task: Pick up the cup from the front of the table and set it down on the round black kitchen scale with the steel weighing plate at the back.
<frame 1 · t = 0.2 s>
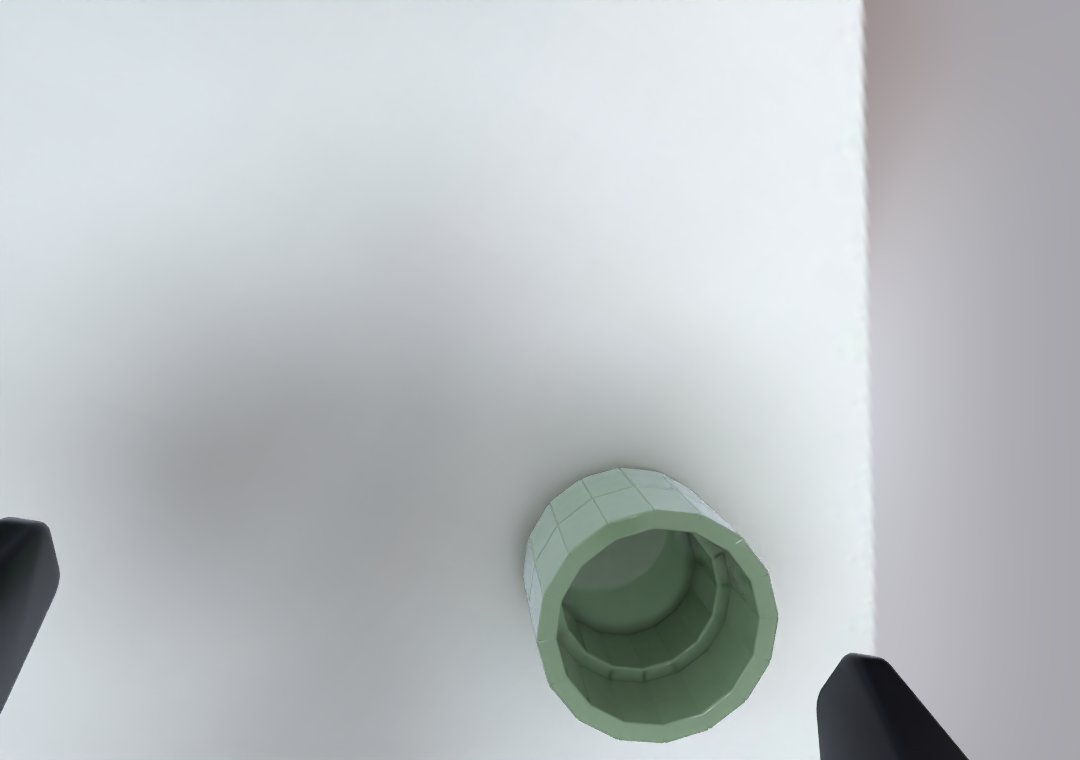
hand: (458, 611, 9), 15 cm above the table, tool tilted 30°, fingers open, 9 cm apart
cup: (620, 558, 25), on the table
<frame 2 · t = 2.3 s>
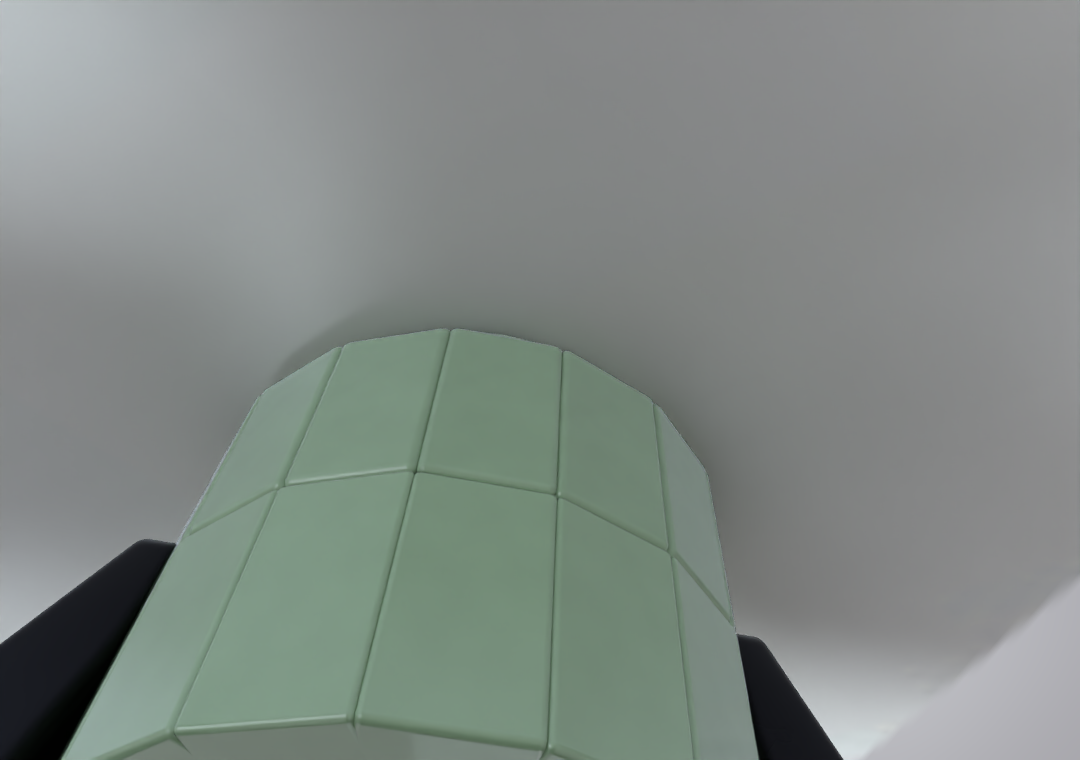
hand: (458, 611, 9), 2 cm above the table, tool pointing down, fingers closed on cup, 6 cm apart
cup: (473, 497, 11), on the table, touching gripper
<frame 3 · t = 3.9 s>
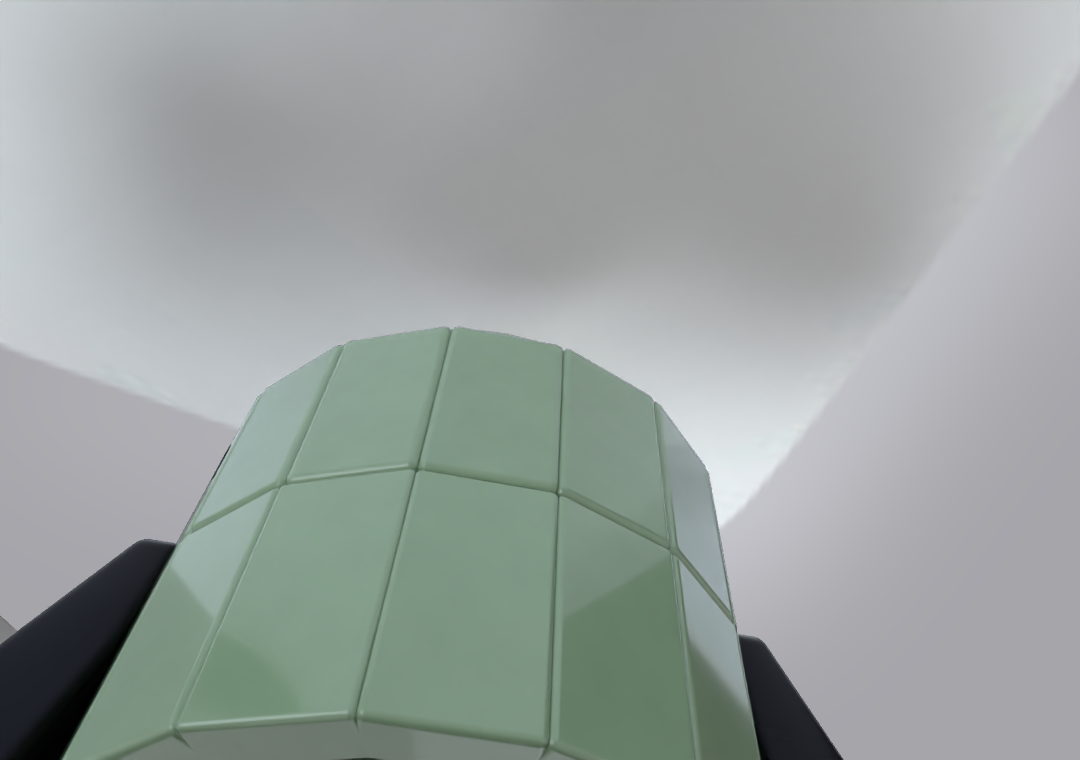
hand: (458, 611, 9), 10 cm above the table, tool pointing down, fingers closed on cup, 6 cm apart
cup: (474, 496, 11), point 8 cm above the table, touching gripper
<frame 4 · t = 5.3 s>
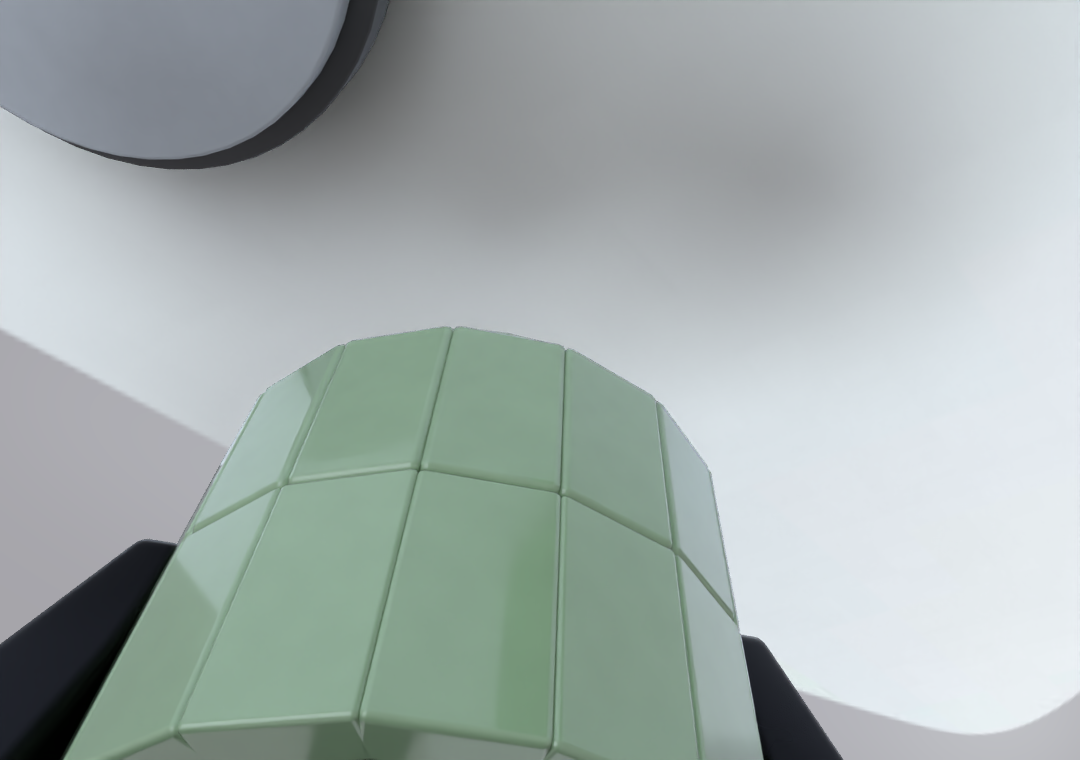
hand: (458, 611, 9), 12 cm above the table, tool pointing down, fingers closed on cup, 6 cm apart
cup: (476, 496, 11), point 10 cm above the table, touching gripper
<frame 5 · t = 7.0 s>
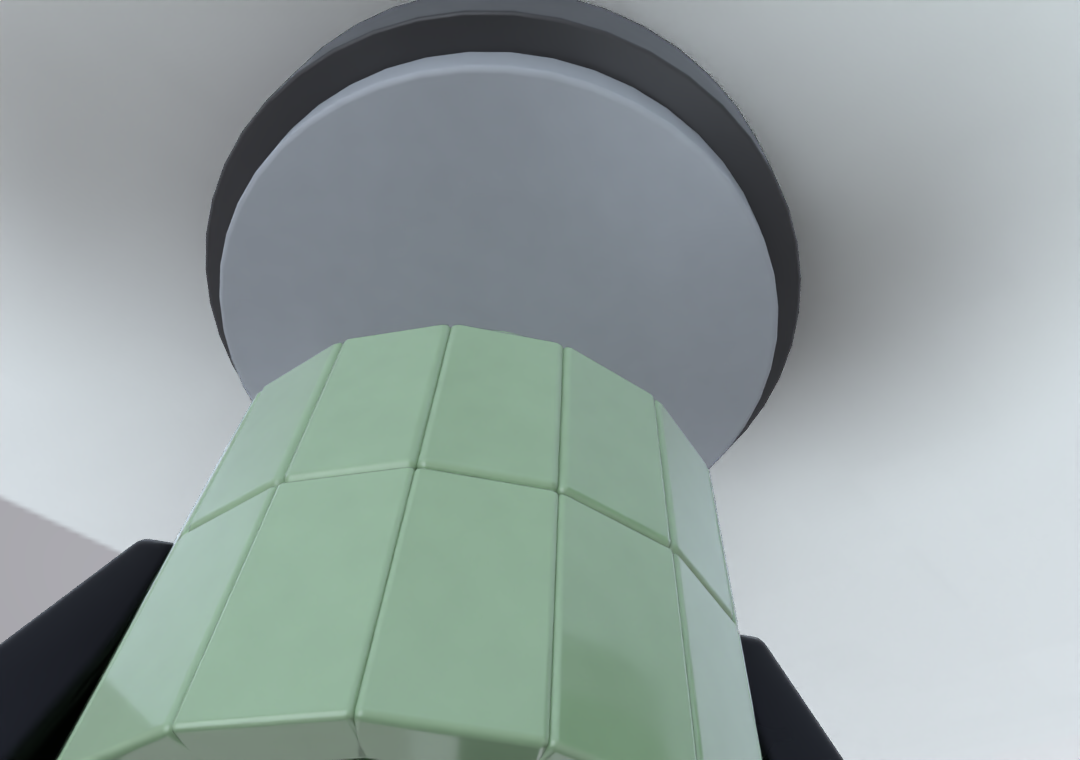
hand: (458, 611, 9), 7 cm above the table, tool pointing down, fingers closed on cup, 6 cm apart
scale: (507, 282, 15), on the table
cup: (474, 495, 11), point 6 cm above the table, touching gripper
when the fingers open (4 cm above the table, at t = 8.4 s): cup stays where it is, resting on scale.
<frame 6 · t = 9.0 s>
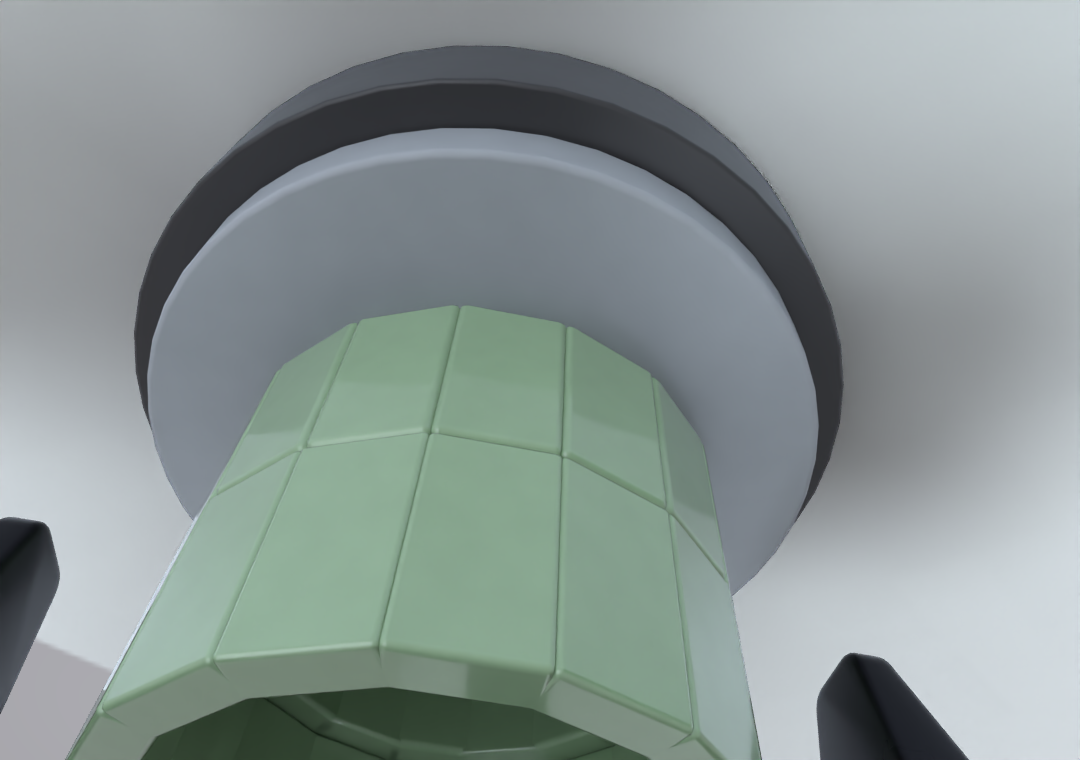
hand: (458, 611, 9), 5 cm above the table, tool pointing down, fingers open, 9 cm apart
scale: (495, 373, 13), on the table
cup: (480, 471, 11), point 2 cm above the table, touching scale
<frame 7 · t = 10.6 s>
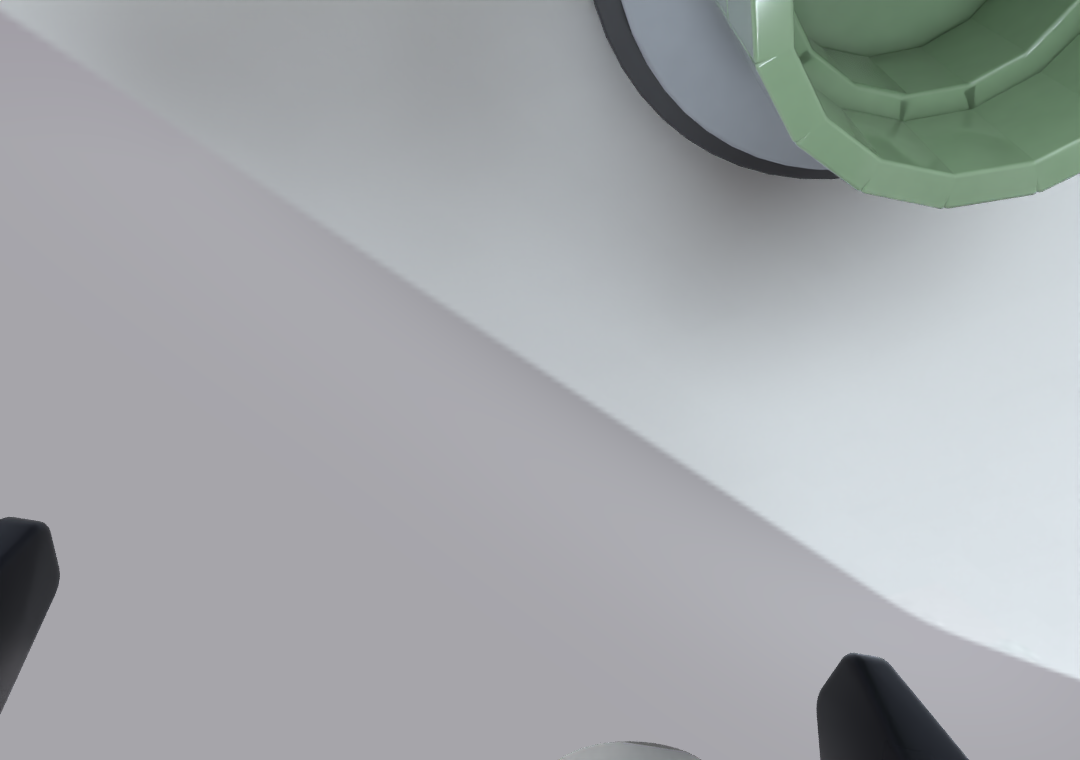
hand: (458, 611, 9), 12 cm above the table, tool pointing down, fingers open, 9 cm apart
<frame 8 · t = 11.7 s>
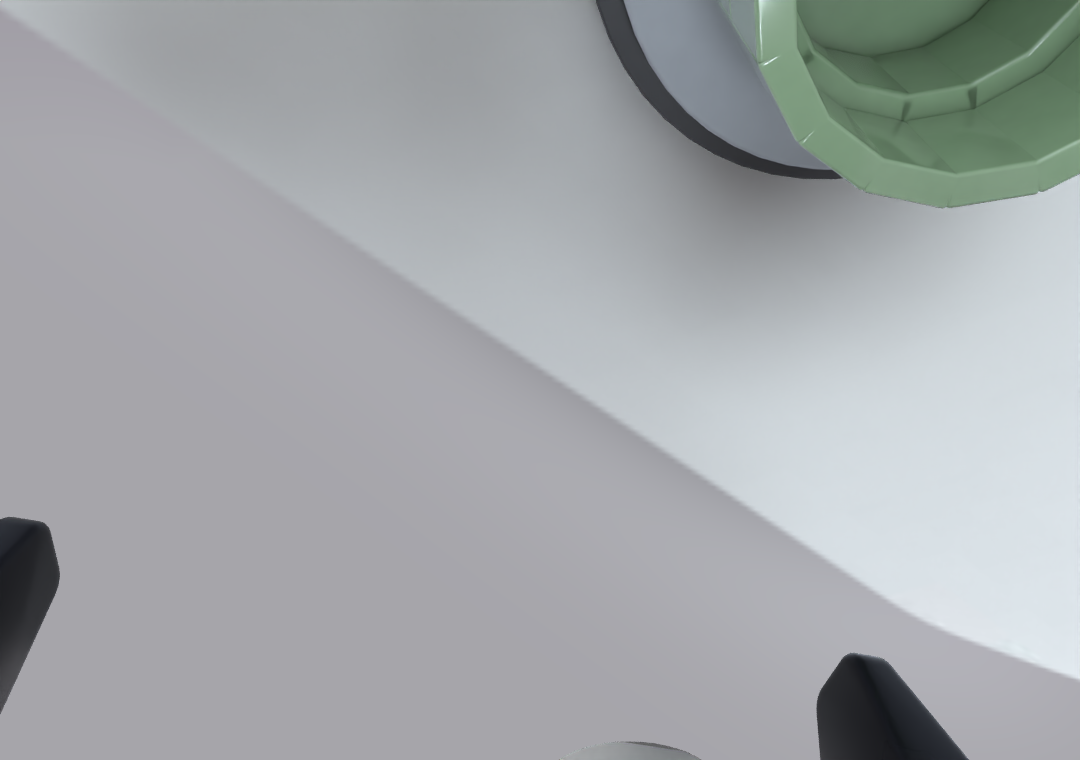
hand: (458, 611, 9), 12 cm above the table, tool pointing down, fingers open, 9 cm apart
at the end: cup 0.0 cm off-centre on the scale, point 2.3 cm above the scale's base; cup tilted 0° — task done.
